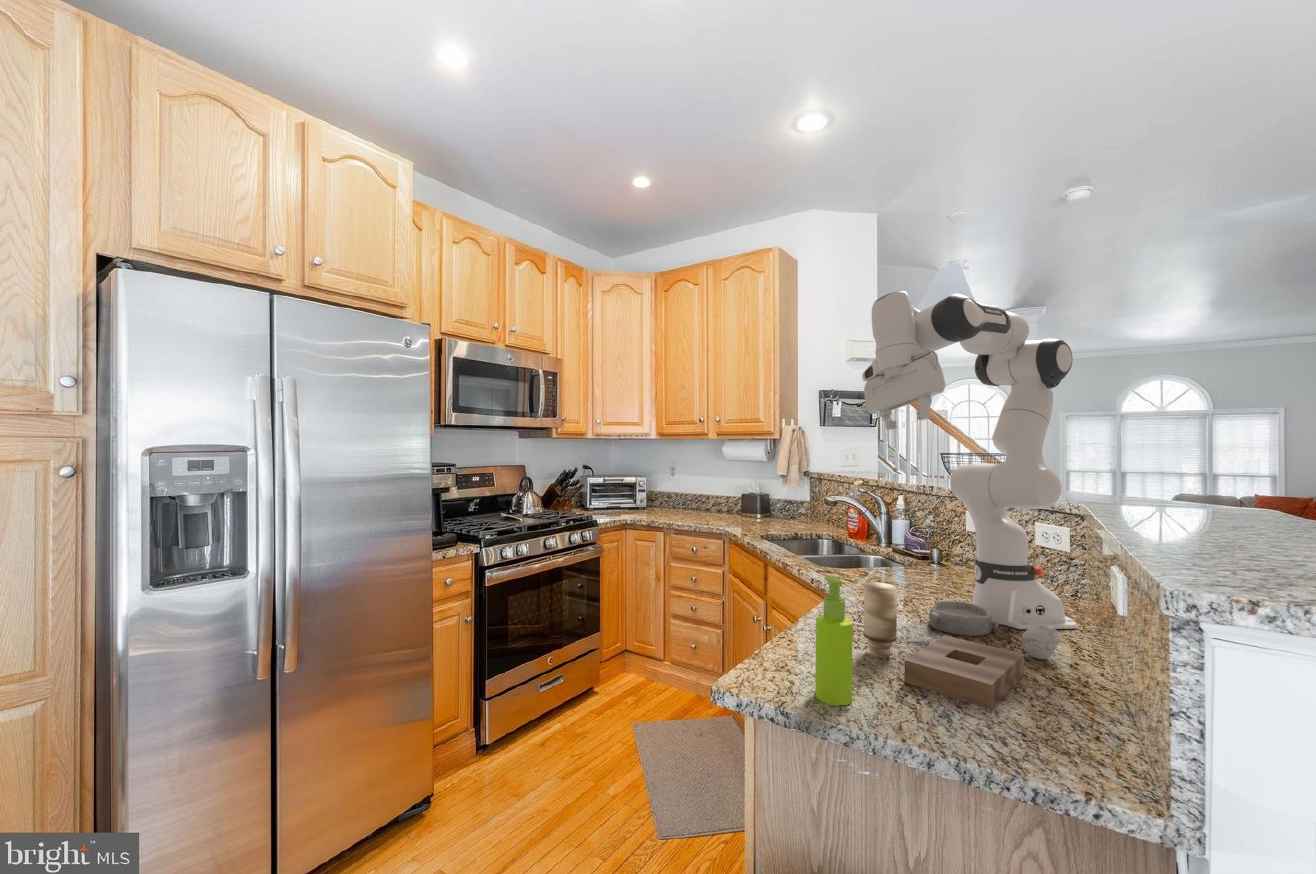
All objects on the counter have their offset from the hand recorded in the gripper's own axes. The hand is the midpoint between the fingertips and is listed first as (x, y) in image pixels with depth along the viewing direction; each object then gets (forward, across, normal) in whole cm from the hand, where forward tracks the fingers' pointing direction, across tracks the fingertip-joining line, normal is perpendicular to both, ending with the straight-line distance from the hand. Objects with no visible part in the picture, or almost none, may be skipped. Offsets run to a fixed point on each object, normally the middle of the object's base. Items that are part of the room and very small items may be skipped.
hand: (907, 424), depth 118 cm
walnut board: (+50, -7, +1) cm, 50 cm away
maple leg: (+47, +8, +8) cm, 48 cm away
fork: (+45, +20, -2) cm, 49 cm away
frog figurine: (+49, -3, -23) cm, 54 cm away
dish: (+46, +16, -23) cm, 54 cm away
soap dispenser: (+50, -6, +29) cm, 58 cm away
